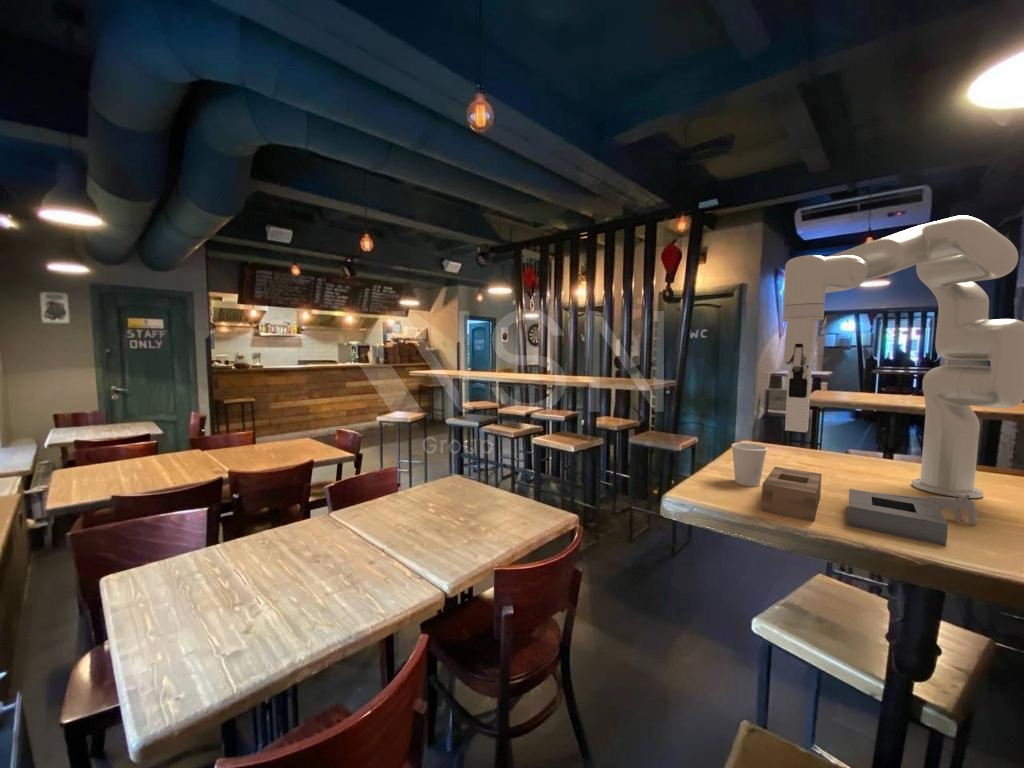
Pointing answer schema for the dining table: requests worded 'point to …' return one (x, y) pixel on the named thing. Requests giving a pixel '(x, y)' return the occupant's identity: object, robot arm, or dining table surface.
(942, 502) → the caliper
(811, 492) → the slotted block
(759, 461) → the dixie cup
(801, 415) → the rectangular block
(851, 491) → the seat block
